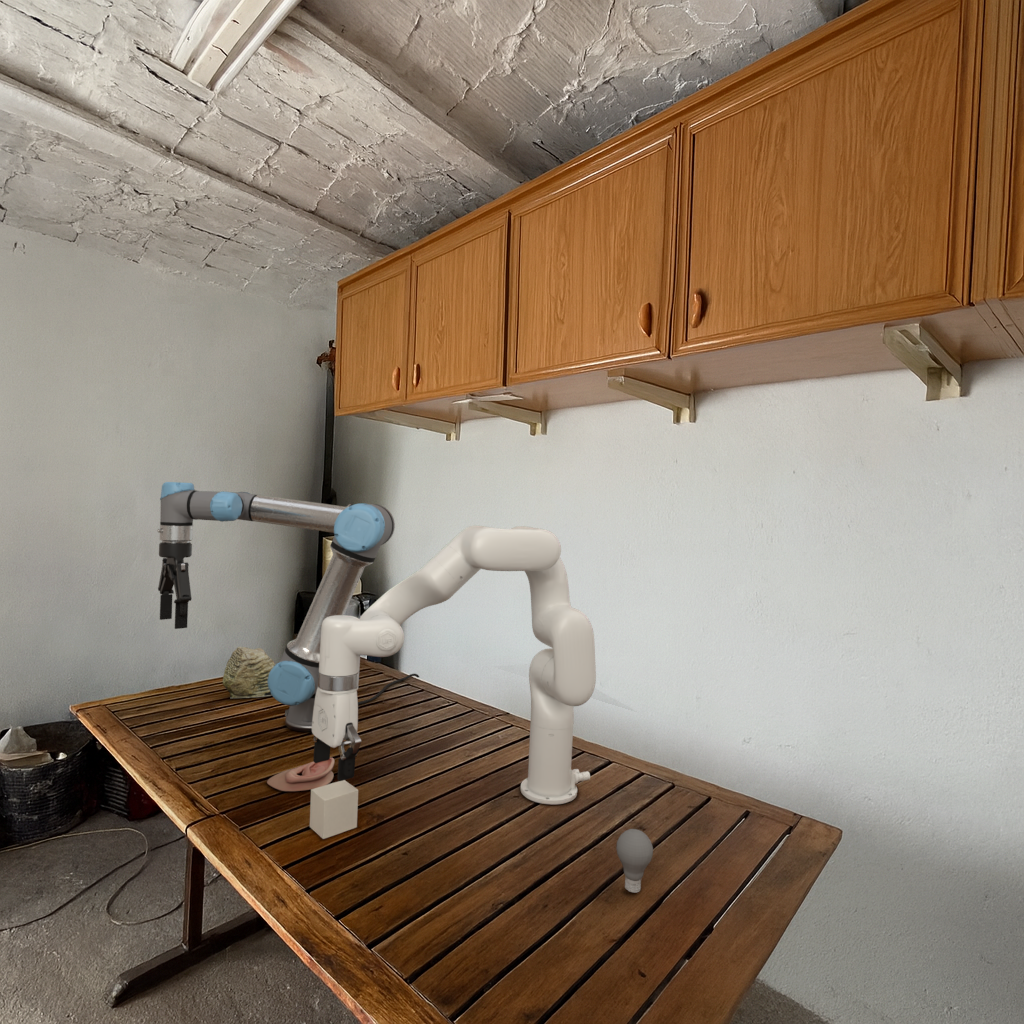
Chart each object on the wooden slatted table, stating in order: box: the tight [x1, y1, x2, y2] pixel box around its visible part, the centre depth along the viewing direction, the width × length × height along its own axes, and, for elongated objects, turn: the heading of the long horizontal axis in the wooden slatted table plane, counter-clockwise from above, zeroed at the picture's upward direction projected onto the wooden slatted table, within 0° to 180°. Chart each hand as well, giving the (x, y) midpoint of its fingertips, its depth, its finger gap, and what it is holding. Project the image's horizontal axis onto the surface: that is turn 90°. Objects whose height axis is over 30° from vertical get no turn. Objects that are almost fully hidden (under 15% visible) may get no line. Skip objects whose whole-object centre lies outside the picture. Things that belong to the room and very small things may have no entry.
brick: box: [309, 780, 359, 840], centre depth 122 cm, size 6×7×7 cm
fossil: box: [222, 646, 276, 699], centre depth 198 cm, size 9×18×15 cm, turn 132°
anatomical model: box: [266, 756, 335, 792], centre depth 140 cm, size 13×4×12 cm
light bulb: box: [615, 828, 654, 894], centre depth 106 cm, size 6×6×10 cm
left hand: (173, 623), depth 164 cm, fingers open, 13 cm apart
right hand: (333, 769), depth 121 cm, fingers open, 9 cm apart
